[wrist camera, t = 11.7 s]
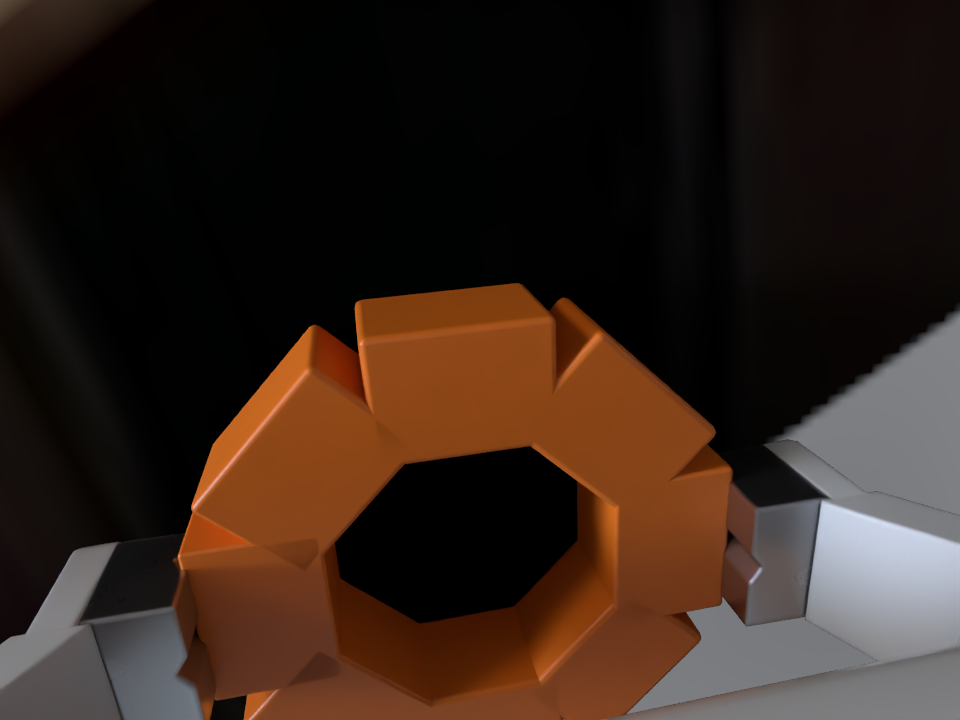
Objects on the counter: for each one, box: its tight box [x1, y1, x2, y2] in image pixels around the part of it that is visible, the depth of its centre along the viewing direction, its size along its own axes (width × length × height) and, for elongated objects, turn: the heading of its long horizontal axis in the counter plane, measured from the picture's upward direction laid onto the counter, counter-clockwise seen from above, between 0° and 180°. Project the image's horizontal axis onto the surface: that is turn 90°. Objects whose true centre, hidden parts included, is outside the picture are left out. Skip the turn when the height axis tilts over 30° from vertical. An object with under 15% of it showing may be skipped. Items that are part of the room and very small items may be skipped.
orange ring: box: [178, 283, 733, 720], centre depth 10 cm, size 7×7×2 cm
